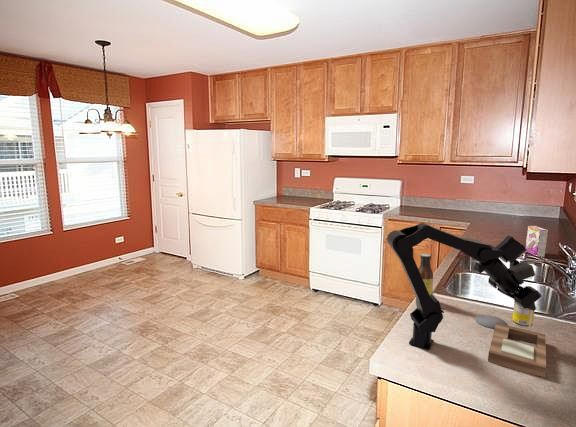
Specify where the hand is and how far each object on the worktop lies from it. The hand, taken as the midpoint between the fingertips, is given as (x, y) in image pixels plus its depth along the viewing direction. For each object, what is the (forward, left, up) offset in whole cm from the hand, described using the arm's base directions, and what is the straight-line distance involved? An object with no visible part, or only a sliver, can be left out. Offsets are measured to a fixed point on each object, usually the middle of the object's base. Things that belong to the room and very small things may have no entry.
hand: (528, 305), depth 115 cm
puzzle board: (-7, +1, -13) cm, 15 cm away
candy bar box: (+119, -2, -13) cm, 120 cm away
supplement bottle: (-1, +1, -7) cm, 7 cm away
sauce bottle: (+15, +35, -13) cm, 41 cm away
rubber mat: (+10, +10, -13) cm, 20 cm away
